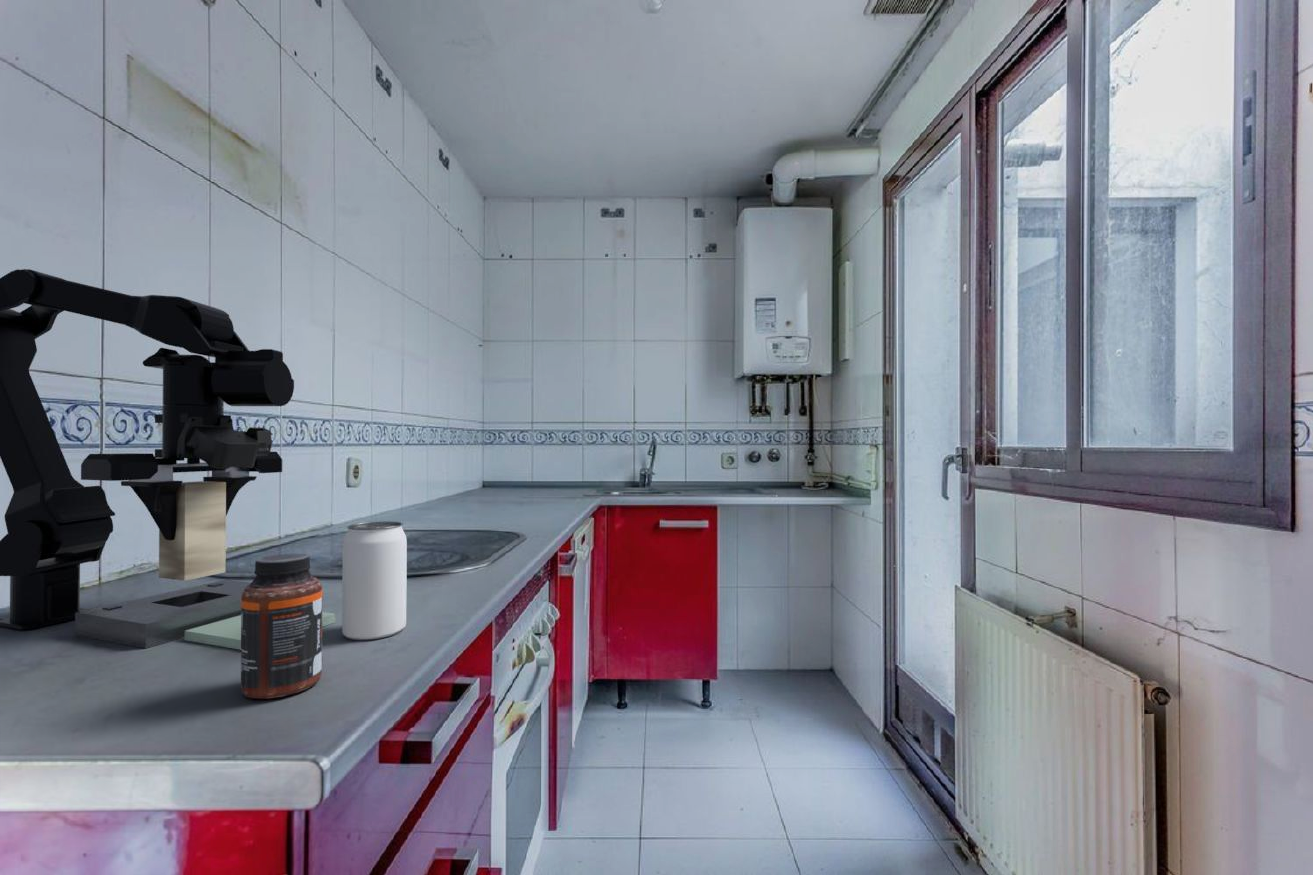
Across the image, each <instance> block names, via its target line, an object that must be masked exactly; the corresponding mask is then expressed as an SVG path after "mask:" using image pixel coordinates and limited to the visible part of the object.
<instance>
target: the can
mask: <svg viewBox="0 0 1313 875" xmlns="http://www.w3.org/2000/svg"><path fill="white" fill-rule="evenodd" d="M403 524H404V523H403V522H401V521H391V520H390V521H389V520H388V521H384V520H383V521H368V522H359V523H353V524H349V525H347V528H346V529H347V532H346V533H345V535H344V537H343V540H342V563H341V564H342V565H341V566H342V567H341V568H342V575H341V576H342V581H341V583H342V584H341V586H342V587H341V589H342V590H341V594H342V595H341V596H342V597H341V598H342V599H341V609H342V610H341V613H342V616H341V627H342V629H341V630H342V631H341V632H342V635H343V636H345V638H346V639H349V640H350V641H351V640H352V641H358V642H359V641H375V640H376V641H377V640H381V639H386V638H390V637H394V636H395V635H397V634H399V633H401V632H402V631H403V630H404V628H405V627H406V626H407V591H408V590H407V584H408V583H407V579H408V578H407V572H408V570H407V568H408V566H407V564H408V563H407V562H408V561H407V560H408V559H407V558H408V557H407V551H408V550H407V548H408V547H407V545H408V544H407V535H406V533H405V531H404V529H403Z"/></svg>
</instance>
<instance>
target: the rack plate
mask: <svg viewBox="0 0 1313 875" xmlns="http://www.w3.org/2000/svg"><path fill="white" fill-rule="evenodd" d="M251 583H252V581H251V582H250V581H242V580H241V581H239V580H232V579H223V580H219V581H214V582H210V583H206V584H201V585H196V586H191V587H187V588H182V589H178V590H173V591H168V592H163V593H159V594H154V595H151V596H150V595H149V596H144V597H141V598H135V599H132V600H126V601H121V602H118V603H112V604H107V605H103V606H99V607H94V608H90V609H89V610H84V611H80V612H75V619H74V636H76V637H83V638H89V639H92V640H99V641H104V642H109V643H115V644H120V645H127V646H131V647H137V648H142V649H148V648H152V647H156V646H159V645H162V644H166V643H169V642H173V641H176V640H179V639H183V638H184V639H185V631H186V630H189V629H193V628H196V627H200V626H203V625H207V624H211V623H214V622H218V621H221V620H225V619H229V618H232V617H236V616H239V615H241V598H242V592H243V591H244V589H245V588H246V587H247V586H248V585H250V584H251Z"/></svg>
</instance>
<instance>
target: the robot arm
mask: <svg viewBox="0 0 1313 875" xmlns="http://www.w3.org/2000/svg"><path fill="white" fill-rule="evenodd" d="M24 304H25V305H30V306H28V307H27V308H25V309H24V310H21V311H20V312H19V311H16V310H14V309H15V308H17V307H20V306H22V305H24ZM63 312H69V313H72V314H78V315H81V316H85V317H90V318H95V319H98V320H103V321H106V322H112V323H116V324H120V325H122V326H123V325H124V326H126V327H128V328H131V329H133V330H135V331H137V332H138V333H139V334H141V335H143V336H145V337H148V338H150V339H153V340H155V341H157V342H159V343H162V344H164V345H167V346H172V347H177V348H179V349H180V348H182V349H184V350H185V351H187V352H189V353H191V354H180V353H179V352H178V351H177V350H176V349H171V348H165V347H159V349H158V350H157V351H156V352H155V353H153V354H152V355H150V356H148V357H147V358H145V359H144V360H143V361H142V365H143V366H144V367H147V368H154V369H162V409H161V410H162V413H161V414H160V413H158V414H157V413H155V415H154V424H161V426H162V428H161V429H162V430H161V431H162V432H161V434H162V436H161V448H157V449H156V448H155V449H154V454H153V453H140V452H139V453H137V452H136V453H135V452H134V453H131V452H130V453H127V452H125V453H122V452H119V453H89V454H88V455H87V456H85V458H84V459H83V461H82V462H81V464H80V480H82V481H106V482H107V481H109V482H110V481H111V482H113V481H114V482H115V481H117V482H118V481H120V485H121V486H122V487H130V488H131V489H132V490H133V492H134V493H135V494H136V497H138V499H139V500H140V501H141V503H142V504H143V505H144V506H145V508H146V509H147V511H148V512H149V514H150V516H151V518H152V519H153V520H154V522H155V524H156V526H157V528H158V531H159V530H160V531H161V533H162V535H163V536H164V538H165V539H166V540H174V539H175V534H176V493H177V491H178V489H179V487H180V486H181V484H182V482H183V480H174V474H176V473H196V472H197V473H198V472H199V473H200V472H211V475H210V476H202V477H203V478H202V479H203V480H202V481H207V482H226V516H228V512H229V510H230V509H231V506H232V504H233V501H234V500H235V498H236V496H237V495H238V493H239V491H240V490H241V489H242V488H243V487H245V485H247V484H248V483H249V482H251V481H252V482H253V481H256V479H257V477H258V476H255V475H254V476H252V475H250V472H253V473H255V472H258V474H272V473H273V474H274V473H275V474H276V473H283V459H282V457H281V455H280V454H279V453H278V452H277V451H271V450H272V446H273V441H272V439H273V438H272V431H271V430H269V429H267V428H266V427H254V426H253V427H251V426H250V427H249V428H247V429H246V430H236V429H234V427H233V423H234V422H233V419H232V415H229V414H228V415H227V414H224V412H225V411H224V410H225V409H224V408H225V407H224V404H226V405H228V406H231V407H284V406H286V405H287V404H289V402H290V401H291V399H292V397H293V394H294V391H295V390H294V389H295V380H294V379H293V378H292V373H291V371H290V369H289V367H288V365H287V364H286V363H285V362H284V360H283V359H284V353H283V351H279V350H277V349H273V348H271V349H270V348H263V349H257V350H249V348H248V347H247V345H245V343H244V342H243V340H242V339H241V338H240V337H239V335H238V333H236V332H235V330H234V325H233V321H232V319H231V318H230V314H229V313H227V312H226V311H224V310H222V309H220V308H217V307H213V306H210V305H207V304H205V303H201V302H197V301H195V300H192V299H189V298H184V297H181V296H175V295H157V294H150V295H142V296H141V295H131V294H130V295H129V294H125V293H122V292H119V291H118V292H117V291H114V290H109V289H106V288H105V289H104V288H100V287H96V286H92V285H87V284H84V283H80V282H76V281H75V282H74V281H72V280H66V279H65V278H62V277H58V276H55V275H52V274H47V273H43V272H40V271H37V270H32V269H28V268H25V269H15V270H11V271H10V272H8V273H6V274H5V275H3V276H1V277H0V460H1V463H2V465H3V468H4V470H5V473H6V475H7V477H8V479H9V481H10V484H11V487H12V490H13V494H12V496H11V499H10V501H9V503H8V506H7V509H6V511H5V514H4V522H5V526H6V530H7V534H5V535H4V536H3V537H2V538H1V539H0V577H9V616H7V617H2V618H0V627H5V628H10V629H15V630H22V631H24V630H25V631H26V630H31V629H32V630H33V629H35V628H39V627H43V626H45V627H46V626H49V625H53V624H58V623H62V622H67V621H70V620H75V612H80V611H84V610H89V609H88V608H82V607H80V606H81V604H80V601H81V600H80V596H81V594H80V592H81V564H85V563H86V564H87V563H90V562H91V563H94V562H99V561H100V558H101V556H102V554H103V552H104V548H105V546H106V543H107V542H108V540H109V537H110V535H111V534H112V533H113V531H114V523H113V520H112V517H115V516H116V512H115V511H114V510H112V509H111V506H110V505H109V503H108V501H107V495H106V492H105V490H104V489H103V488H102V486H101V485H89V486H84V485H83V484H82V483H80V482H79V481H78V480H76V479H75V478H74V477H73V474H72V473H71V471H70V468H69V465H68V463H67V460H66V459H65V456H64V453H63V452H62V449H61V447H60V444H59V442H58V439H57V437H56V434H55V432H54V429H53V427H52V424H51V422H50V419H49V417H48V414H47V413H46V410H45V407H44V405H43V403H42V401H41V397H40V395H39V393H38V390H37V388H36V385H35V382H34V381H33V379H32V376H31V374H30V367H31V366H32V363H33V361H34V359H35V356H36V355H37V352H38V348H37V343H36V339H38V338H39V337H41V336H42V335H45V334H47V333H48V332H50V331H51V330H52V329H53V326H54V323H55V321H56V319H57V316H58V315H59V314H61V313H63ZM207 357H211V358H214V362H211V361H210V360H209V359H207ZM185 459H186V462H185ZM178 461H179V462H180V461H182V462H180V463H179V462H178ZM183 461H184V462H183ZM201 461H203V462H201Z"/></svg>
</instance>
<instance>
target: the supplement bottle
mask: <svg viewBox="0 0 1313 875" xmlns="http://www.w3.org/2000/svg"><path fill="white" fill-rule="evenodd" d="M310 560H311V559H310V554H308V553H305V552H304V553H303V552H299V553H298V552H293V553H292V552H290V553H289V552H288V553H280V554H271V555H267V556H262V557H259V558H257V559H255V563H254V565H255V567H254V572H253V573H254V575H256V576H255V578H253V581H251V584H250V585H248V586H247V587H246V588H245V589H244V591H243V592H242V598H241V650H240V687H241V693H242V694H243V695H244V696H245V697H247V698H251V699H256V700H261V699H262V700H268V699H271V700H272V699H279V698H284V697H287V696H291V695H294V694H297V693H300V692H304V691H306V690H308V689H309V688H311V687H313V686H314V685H316V684H317V683H318V682H319V681H320V679H321V678H322V676H323V674H322V673H323V627H322V612H323V586H322V583H321V580H320V579H318V577H315V576H312V573H311V572H310V569H311V561H310Z"/></svg>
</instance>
